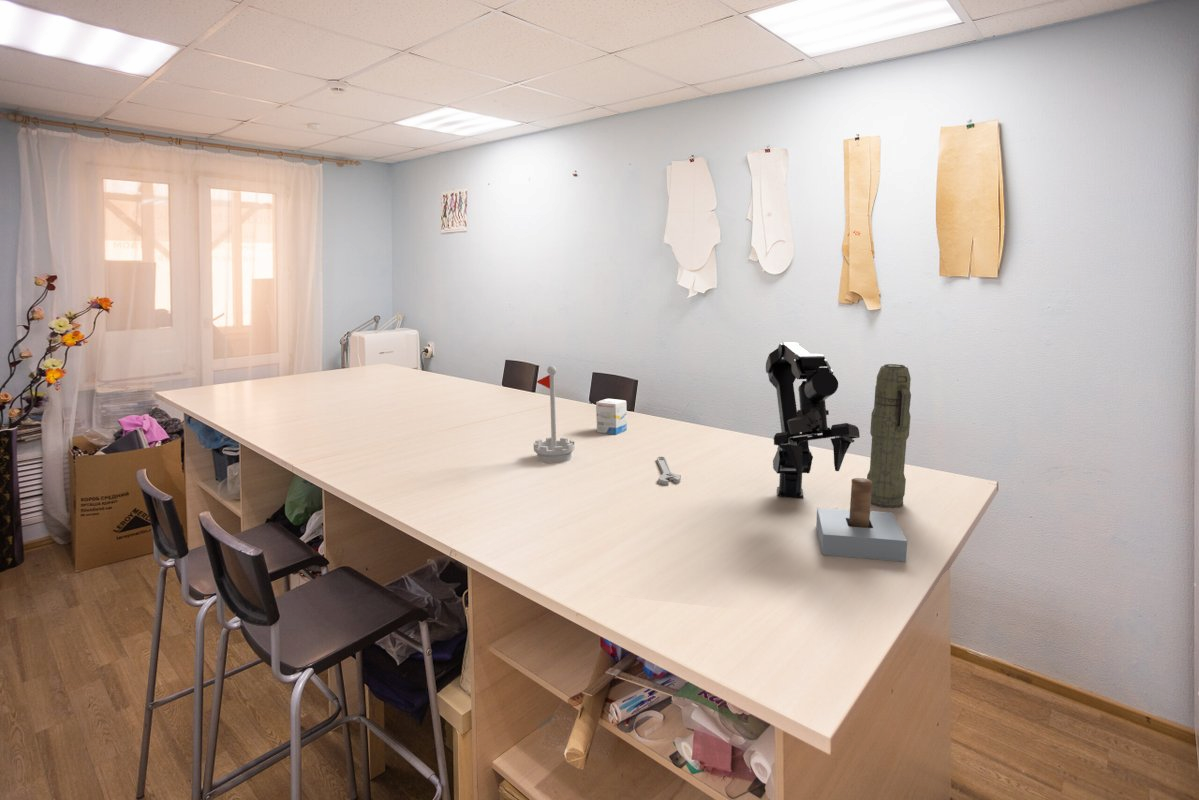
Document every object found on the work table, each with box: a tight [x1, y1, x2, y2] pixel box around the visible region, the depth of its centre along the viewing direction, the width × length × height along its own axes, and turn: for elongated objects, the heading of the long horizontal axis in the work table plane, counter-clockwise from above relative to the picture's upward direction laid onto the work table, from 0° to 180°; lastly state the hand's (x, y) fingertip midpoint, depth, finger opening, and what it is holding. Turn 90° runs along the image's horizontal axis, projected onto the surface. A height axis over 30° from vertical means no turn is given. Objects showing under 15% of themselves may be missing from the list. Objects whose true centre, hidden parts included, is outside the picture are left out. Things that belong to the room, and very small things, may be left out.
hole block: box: [815, 507, 908, 563], centre depth 140 cm, size 16×16×4 cm
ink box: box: [595, 398, 628, 435], centre depth 242 cm, size 9×8×12 cm
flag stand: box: [533, 365, 575, 464], centre depth 206 cm, size 13×13×30 cm
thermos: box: [866, 363, 912, 509], centre depth 161 cm, size 9×12×35 cm
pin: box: [849, 477, 872, 528], centre depth 139 cm, size 4×4×13 cm
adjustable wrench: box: [656, 456, 682, 486], centre depth 193 cm, size 25×6×2 cm, turn 177°
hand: (817, 472), depth 148 cm, fingers open, 9 cm apart
